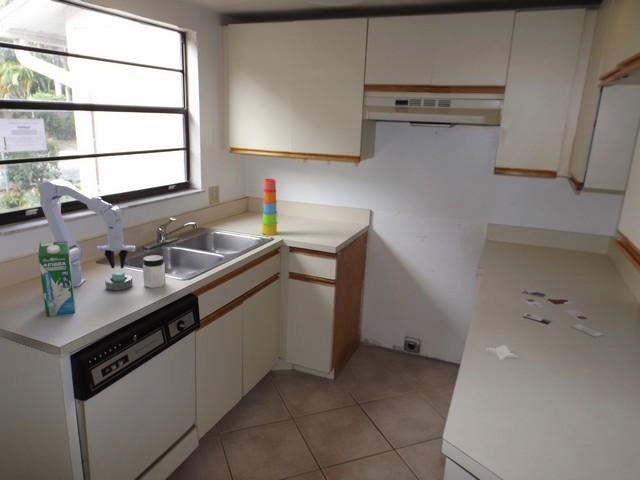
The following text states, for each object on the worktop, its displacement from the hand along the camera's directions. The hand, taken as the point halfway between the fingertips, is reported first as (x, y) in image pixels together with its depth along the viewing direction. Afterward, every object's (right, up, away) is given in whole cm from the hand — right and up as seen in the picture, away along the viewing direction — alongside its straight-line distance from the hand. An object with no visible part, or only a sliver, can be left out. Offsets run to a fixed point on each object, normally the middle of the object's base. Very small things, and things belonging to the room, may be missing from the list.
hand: (117, 267), depth 186 cm
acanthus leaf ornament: (+144, -27, -40) cm, 152 cm away
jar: (+13, -8, +6) cm, 17 cm away
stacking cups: (+52, +16, +97) cm, 111 cm away
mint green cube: (0, -7, +2) cm, 7 cm away
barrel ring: (0, -8, +2) cm, 8 cm away
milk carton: (-11, -14, -22) cm, 28 cm away
